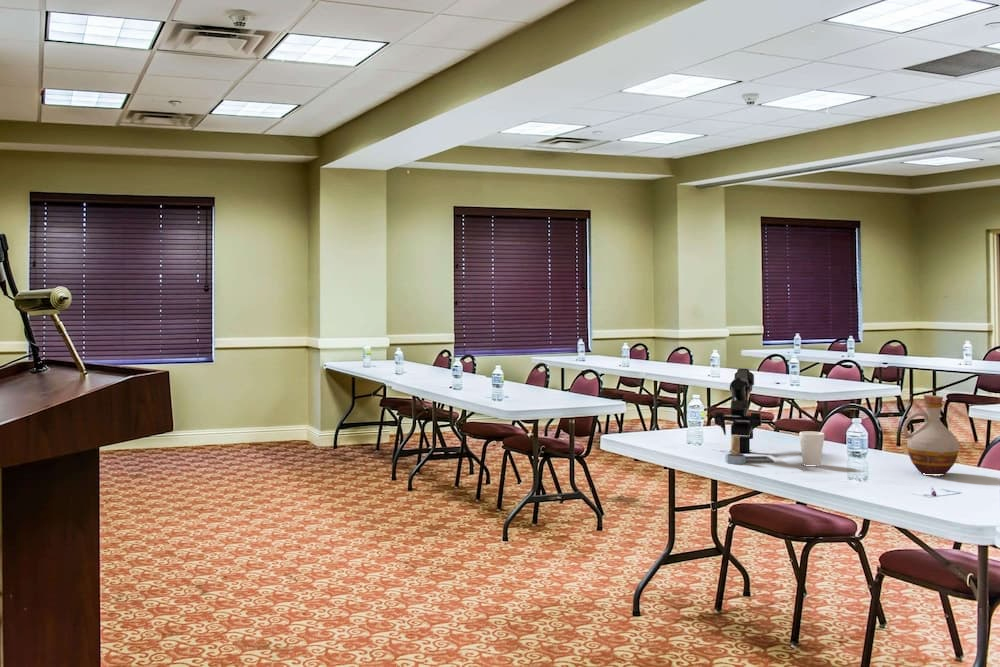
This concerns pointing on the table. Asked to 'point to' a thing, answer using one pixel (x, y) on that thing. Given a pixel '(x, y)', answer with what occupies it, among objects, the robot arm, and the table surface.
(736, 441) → the dowel
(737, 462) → the gray square block
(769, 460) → the tray
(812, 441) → the foam cup
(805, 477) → the table surface
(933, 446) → the jug
